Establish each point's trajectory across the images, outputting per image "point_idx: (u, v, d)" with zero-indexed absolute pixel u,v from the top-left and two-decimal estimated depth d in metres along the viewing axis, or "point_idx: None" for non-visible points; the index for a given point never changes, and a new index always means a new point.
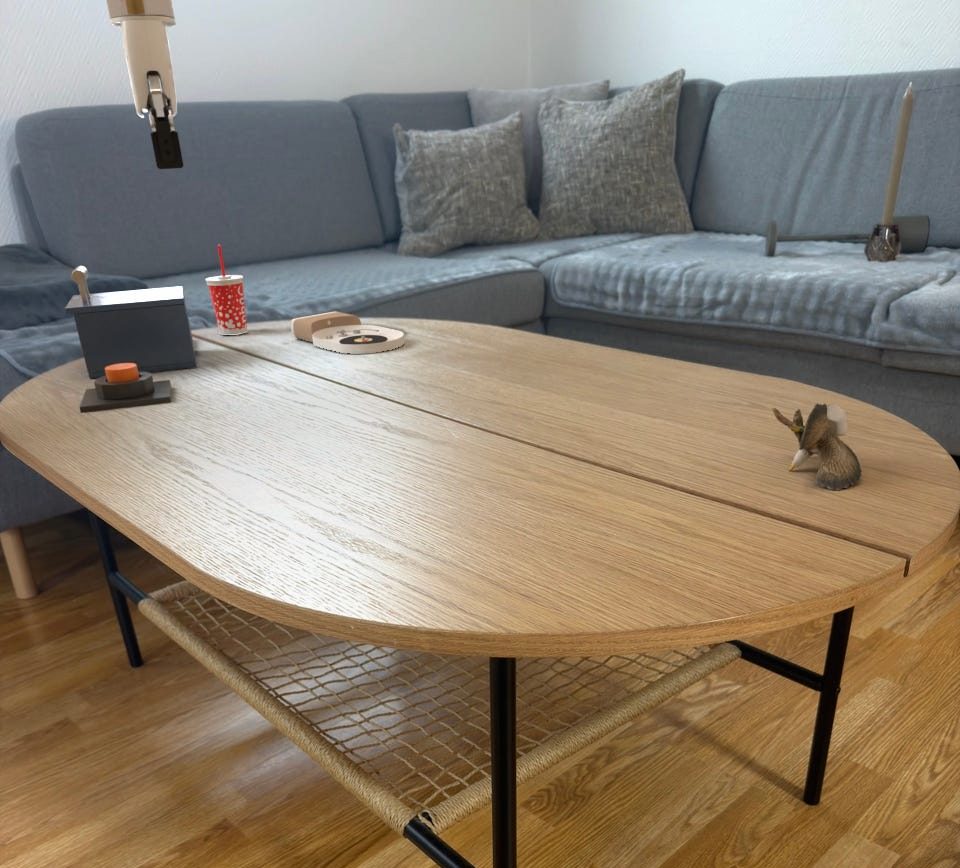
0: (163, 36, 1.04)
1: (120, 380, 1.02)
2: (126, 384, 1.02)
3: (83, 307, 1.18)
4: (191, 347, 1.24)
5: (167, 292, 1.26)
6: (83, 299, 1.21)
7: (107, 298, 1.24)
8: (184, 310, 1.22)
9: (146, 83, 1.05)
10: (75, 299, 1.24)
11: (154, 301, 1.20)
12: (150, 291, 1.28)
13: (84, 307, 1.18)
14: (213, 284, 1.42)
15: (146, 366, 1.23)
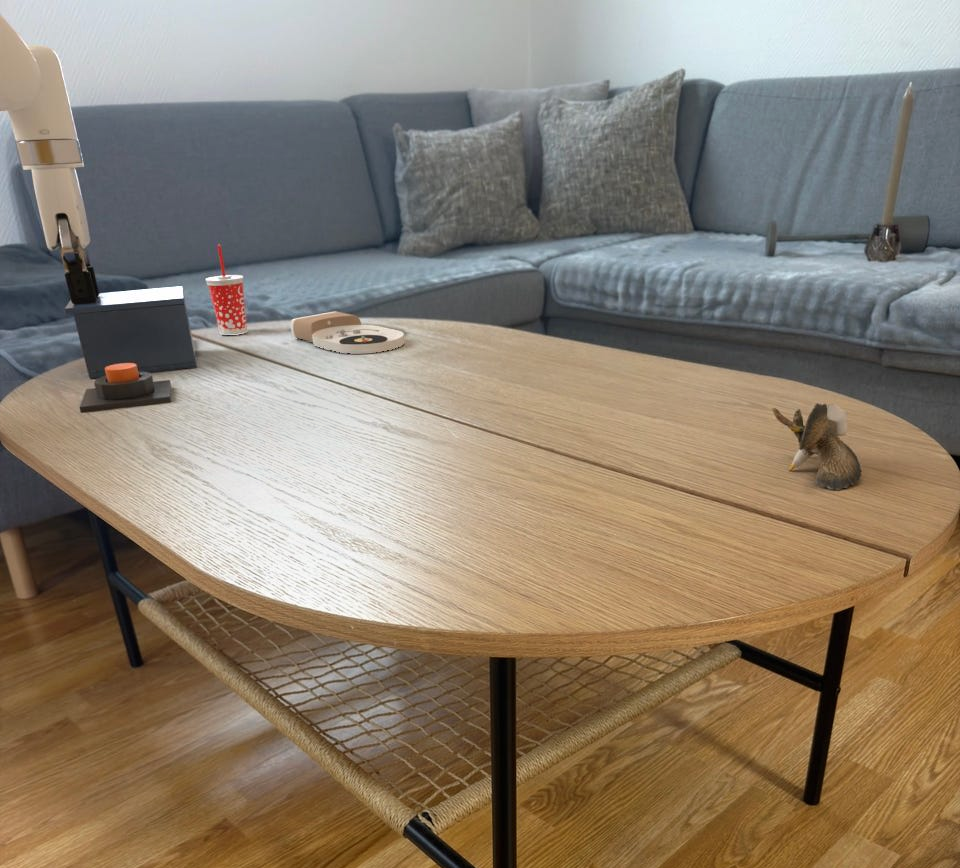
0: (70, 181, 1.13)
1: (120, 380, 1.02)
2: (126, 384, 1.02)
3: (83, 307, 1.18)
4: (191, 347, 1.24)
5: (167, 292, 1.26)
6: None
7: (107, 298, 1.24)
8: (184, 310, 1.22)
9: (55, 224, 1.14)
10: None
11: (154, 301, 1.20)
12: (150, 291, 1.28)
13: (84, 307, 1.18)
14: (213, 284, 1.42)
15: (146, 366, 1.23)
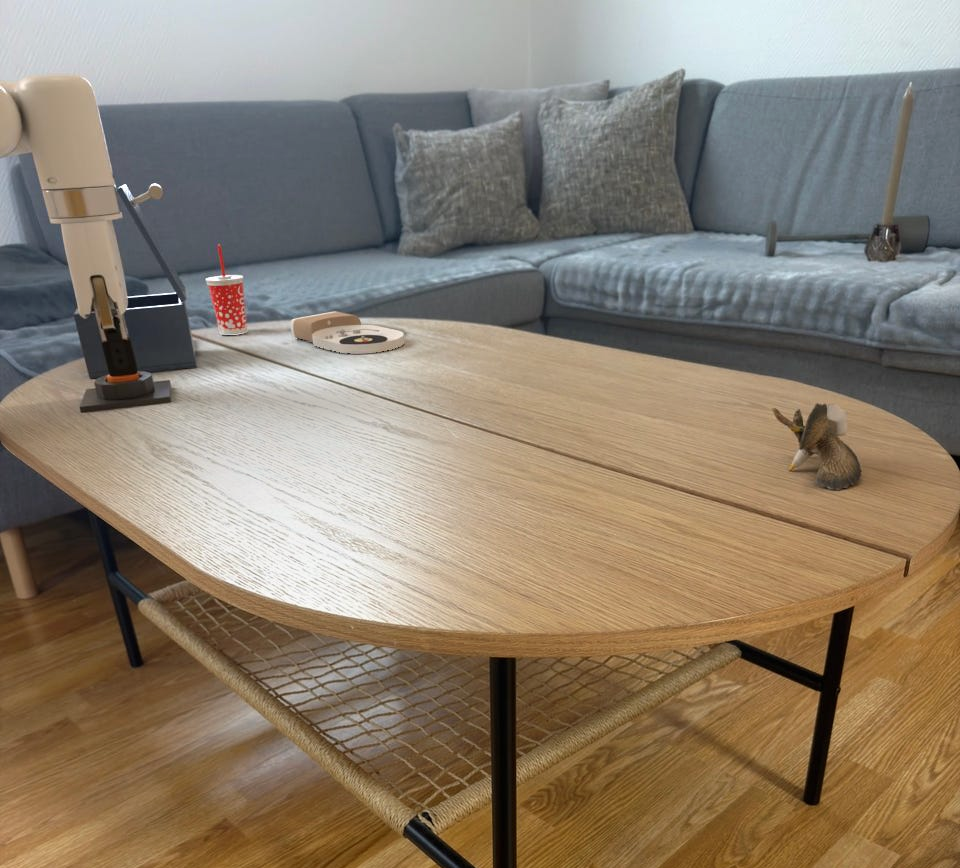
0: (107, 237, 0.94)
1: None
2: (126, 384, 1.02)
3: (131, 205, 1.14)
4: (191, 347, 1.24)
5: (177, 278, 1.26)
6: (135, 201, 1.18)
7: (145, 222, 1.21)
8: (184, 310, 1.22)
9: (89, 288, 0.94)
10: (127, 190, 1.20)
11: (170, 273, 1.19)
12: (168, 260, 1.27)
13: (131, 206, 1.14)
14: (213, 284, 1.42)
15: (146, 366, 1.23)
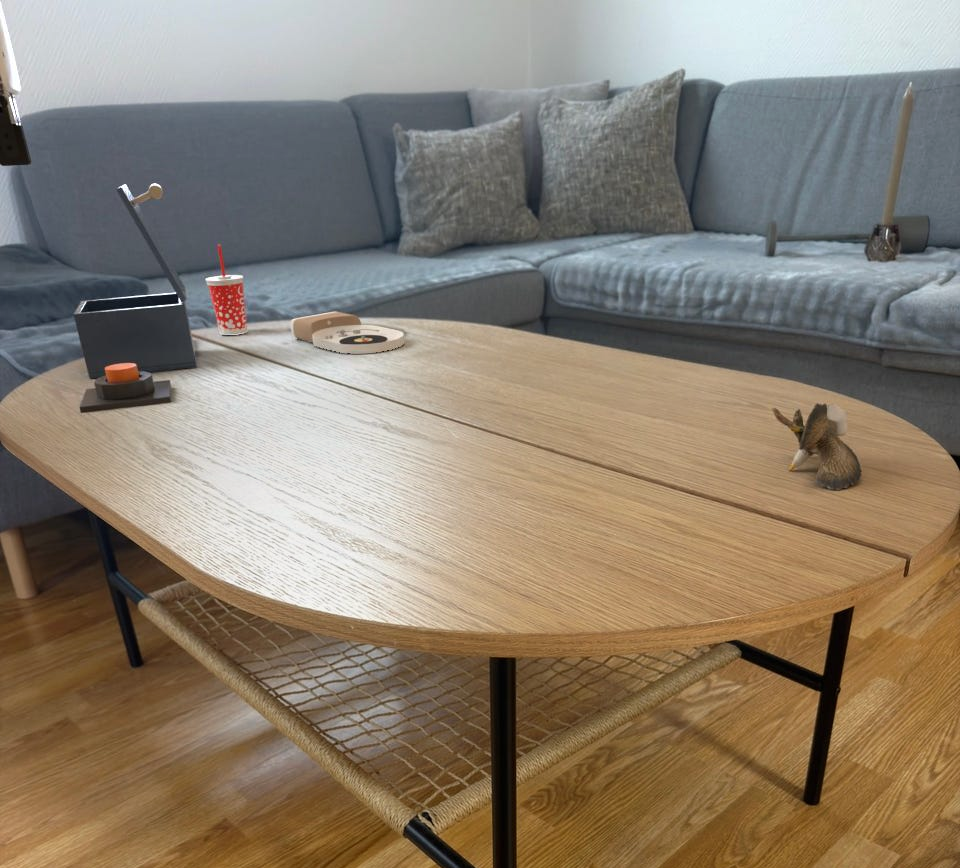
0: None
1: (120, 380, 1.02)
2: (126, 384, 1.02)
3: (131, 205, 1.14)
4: (191, 347, 1.24)
5: (177, 278, 1.26)
6: (135, 201, 1.18)
7: (145, 222, 1.21)
8: (184, 310, 1.22)
9: None
10: (127, 190, 1.20)
11: (170, 273, 1.19)
12: (168, 260, 1.27)
13: (131, 206, 1.14)
14: (213, 284, 1.42)
15: (146, 366, 1.23)
